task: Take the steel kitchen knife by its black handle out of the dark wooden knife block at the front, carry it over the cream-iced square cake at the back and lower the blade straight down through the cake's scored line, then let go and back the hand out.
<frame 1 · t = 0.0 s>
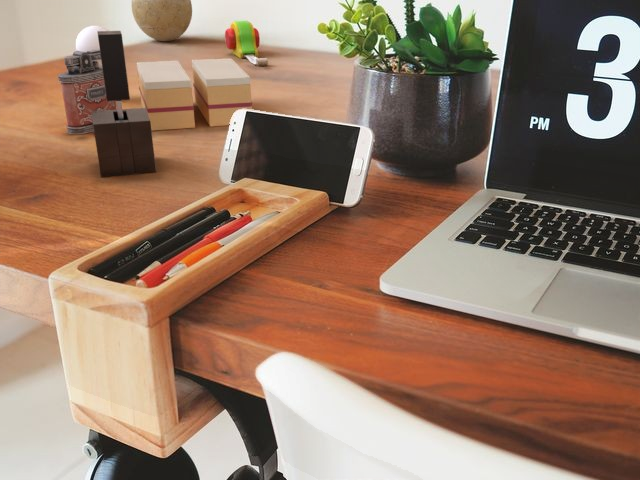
lighter: (94, 128, 98), on the table
toy measuring tape: (248, 58, 145), on the table
cake: (195, 114, 105), on the table
fossilized egg: (165, 41, 160), on the table
knife block: (127, 166, 84), on the table
lightbulb: (105, 101, 112), on the table
knife: (118, 102, 81), in the knife block
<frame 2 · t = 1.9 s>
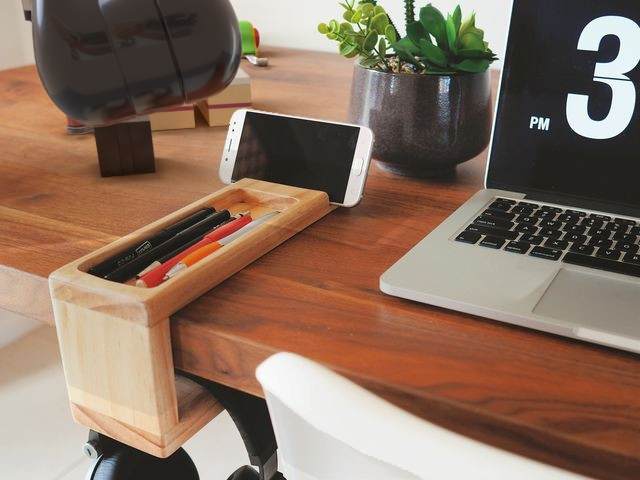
nothing on the table moved.
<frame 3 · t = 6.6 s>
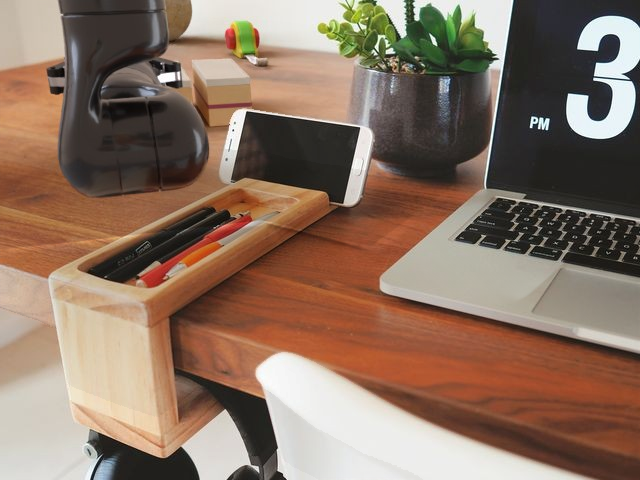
hand: (112, 60, 81), 12 cm above the table, tool horizontal, fingers closed on knife, 2 cm apart
knife: (118, 102, 81), in the knife block, touching gripper
everything else where it was.
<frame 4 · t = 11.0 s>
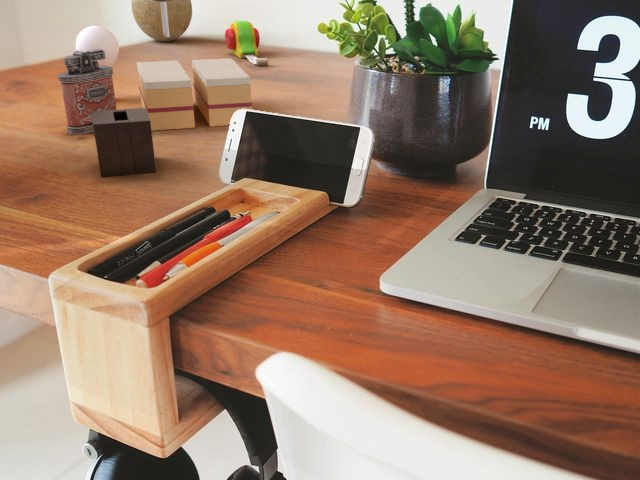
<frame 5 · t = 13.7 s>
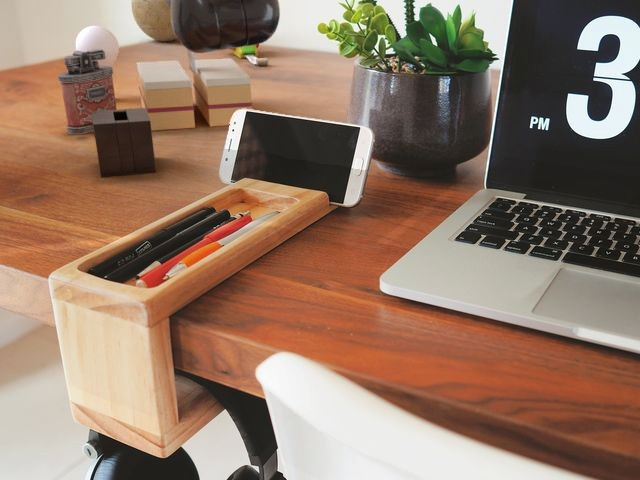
knife: (187, 14, 99), point 14 cm above the table, touching gripper
everything else where it was.
when the fingers open (11 cm above the table, at t = 15.7 s): knife stays where it is, on the table.
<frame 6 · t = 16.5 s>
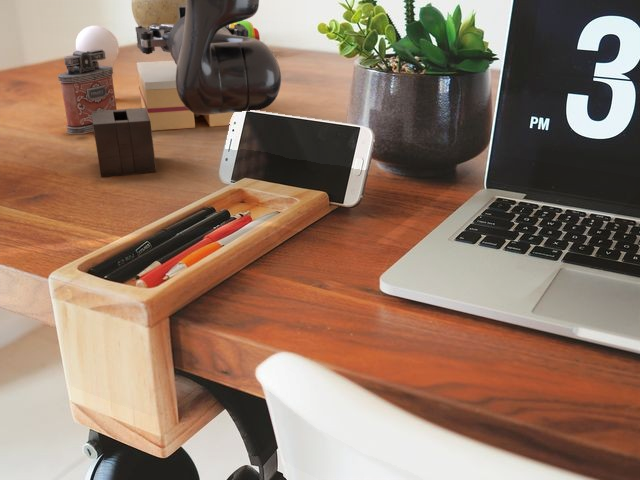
hand: (186, 29, 102), 12 cm above the table, tool horizontal, fingers open, 8 cm apart
knife: (191, 62, 102), on the table
everything else where it was.
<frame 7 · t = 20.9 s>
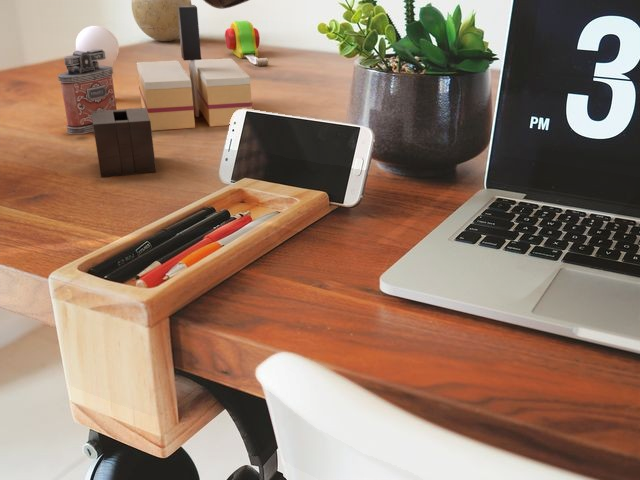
nothing on the table moved.
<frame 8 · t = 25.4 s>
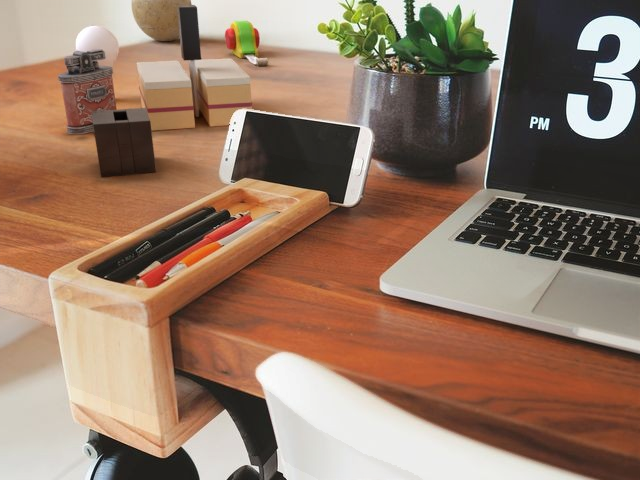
nothing on the table moved.
at the end: knife 0.2 cm off-centre on the cake, point 7.5 cm above the cake's base; knife tilted 0°; the gripper is holding nothing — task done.
